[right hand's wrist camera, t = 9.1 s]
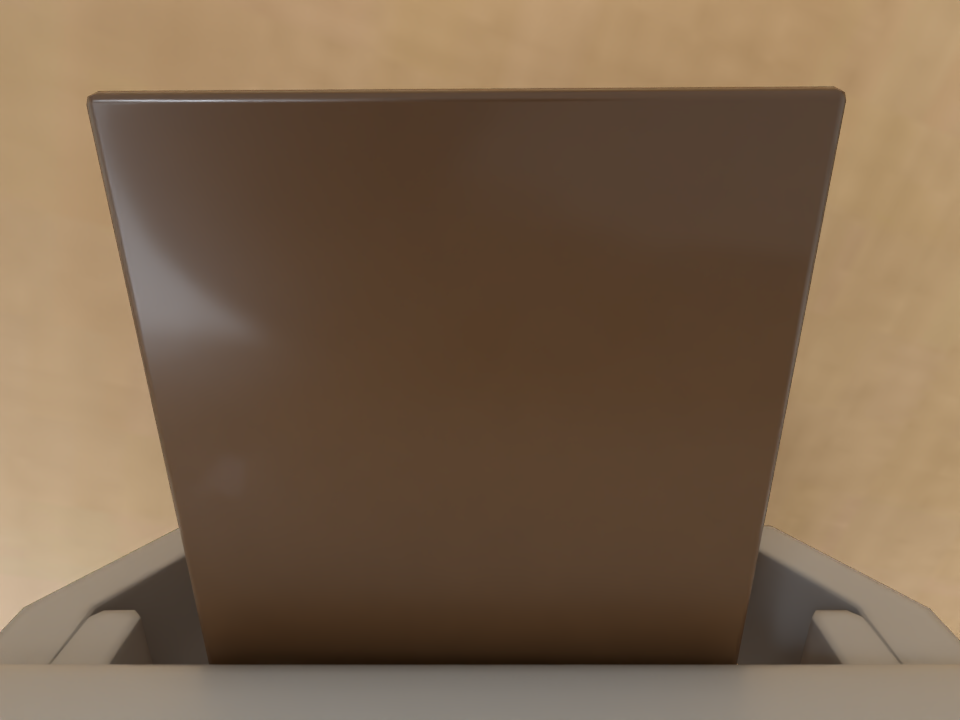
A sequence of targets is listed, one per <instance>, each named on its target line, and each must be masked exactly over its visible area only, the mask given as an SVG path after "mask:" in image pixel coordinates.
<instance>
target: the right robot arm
mask: <svg viewBox="0 0 960 720" xmlns="http://www.w3.org/2000/svg"><path fill="white" fill-rule="evenodd" d="M737 664H738V665H209V662H208V657H207V653H206V648H205V644H204V639H203V635H202V630H201V626H200V621H199V616H198V612H197V607H196V603H195V598H194V594H193V589H192V584H191V580H190V575H189V571H188V566H187V562H186V557H185V552H184V548H183V543H182V539H181V534H180V530H179V528H178V529H176V530H174V531H172V532H170V533H168V534H166V535H164V536H162V537H160V538H158V539H156V540H154V541H152V542H150V543H148V544H146V545H144V546H143V547H141V548H139V549H137V550H135V551H133V552H131V553H129V554H127V555H125V556H123V557H121V558H119V559H117V560H115V561H113V562H111V563H109V564H108V565H106V566H104V567H102V568H100V569H98V570H96V571H94V572H92V573H90V574H88V575H86V576H84V577H82V578H80V579H78V580H76V581H74V582H72V583H71V584H69V585H67V586H65V587H63V588H61V589H59V590H57V591H55V592H53V593H51V594H49V595H47V596H45V597H43V598H41V599H39V600H37V601H36V602H34V603H32V604H30V605H28V606H26V607H24V608H23V609H22V610H21V611H20V612H19V613H18V614H17V615H16V616H15V617H14V618H13V619H12V620H11V621H10V622H9V623H8V624H7V626H6V627H5V628H4V629H3V630H2V631H1V632H0V720H960V640H959V639H958V638H957V637H956V636H955V635H954V634H953V633H952V632H951V631H950V630H949V629H948V627H947V626H946V625H945V624H944V623H943V622H942V621H941V620H940V619H939V618H938V617H937V616H936V615H935V614H934V612H933V611H932V610H931V609H930V608H928V607H926V606H924V605H922V604H920V603H918V602H916V601H914V600H912V599H910V598H909V597H907V596H905V595H903V594H901V593H899V592H897V591H895V590H893V589H891V588H889V587H887V586H886V585H884V584H882V583H880V582H878V581H876V580H874V579H872V578H870V577H868V576H866V575H864V574H862V573H861V572H859V571H857V570H855V569H853V568H851V567H849V566H847V565H845V564H843V563H841V562H839V561H837V560H836V559H834V558H832V557H830V556H828V555H826V554H824V553H822V552H820V551H818V550H816V549H814V548H813V547H811V546H809V545H807V544H805V543H803V542H801V541H799V540H797V539H795V538H793V537H791V536H789V535H788V534H786V533H784V532H782V531H780V530H778V529H776V528H774V527H772V526H764V527H763V532H762V537H761V542H760V547H759V552H758V558H757V563H756V568H755V573H754V578H753V583H752V589H751V594H750V599H749V604H748V609H747V614H746V620H745V625H744V630H743V635H742V640H741V645H740V651H739V656H738V661H737Z"/></svg>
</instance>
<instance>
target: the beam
mask: <svg viewBox="0 0 960 720" xmlns="http://www.w3.org/2000/svg"><path fill="white" fill-rule="evenodd" d="M845 103H846V97H845V92H844V91H842V90H840V89H838V88H836V87H690V88H531V89H373V90H214V91H98V92H96V93H94V94H92V95H90V96H88V98H87V109H88V114H89V118H90V123H91V127H92V132H93V136H94V141H95V146H96V150H97V155H98V159H99V164H100V168H101V173H102V178H103V182H104V187H105V191H106V196H107V200H108V205H109V210H110V214H111V219H112V223H113V228H114V232H115V237H116V242H117V246H118V251H119V255H120V260H121V264H122V269H123V274H124V278H125V283H126V287H127V292H128V296H129V301H130V306H131V310H132V315H133V319H134V324H135V328H136V333H137V338H138V342H139V347H140V351H141V356H142V360H143V365H144V370H145V374H146V379H147V383H148V388H149V392H150V397H151V402H152V406H153V411H154V415H155V420H156V424H157V429H158V434H159V438H160V443H161V447H162V452H163V456H164V461H165V466H166V470H167V475H168V479H169V484H170V488H171V493H172V498H173V502H174V507H175V511H176V516H177V520H178V525H179V530H180V534H181V539H182V543H183V548H184V552H185V557H186V562H187V566H188V571H189V575H190V580H191V584H192V589H193V594H194V598H195V603H196V607H197V612H198V616H199V621H200V626H201V630H202V635H203V639H204V644H205V648H206V653H207V657H208V662H209V665H737V661H738V656H739V651H740V645H741V640H742V635H743V630H744V625H745V620H746V614H747V609H748V604H749V599H750V594H751V589H752V583H753V578H754V573H755V568H756V563H757V558H758V552H759V547H760V542H761V537H762V532H763V527H764V521H765V516H766V511H767V506H768V501H769V496H770V490H771V485H772V480H773V475H774V470H775V465H776V459H777V454H778V449H779V444H780V439H781V434H782V428H783V423H784V418H785V413H786V408H787V403H788V397H789V392H790V387H791V382H792V377H793V371H794V366H795V361H796V356H797V351H798V346H799V340H800V335H801V330H802V325H803V320H804V315H805V309H806V304H807V299H808V294H809V289H810V284H811V278H812V273H813V268H814V263H815V258H816V253H817V247H818V242H819V237H820V232H821V227H822V222H823V216H824V211H825V206H826V201H827V196H828V191H829V185H830V180H831V175H832V170H833V165H834V160H835V154H836V149H837V144H838V139H839V134H840V129H841V123H842V118H843V113H844V108H845Z"/></svg>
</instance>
